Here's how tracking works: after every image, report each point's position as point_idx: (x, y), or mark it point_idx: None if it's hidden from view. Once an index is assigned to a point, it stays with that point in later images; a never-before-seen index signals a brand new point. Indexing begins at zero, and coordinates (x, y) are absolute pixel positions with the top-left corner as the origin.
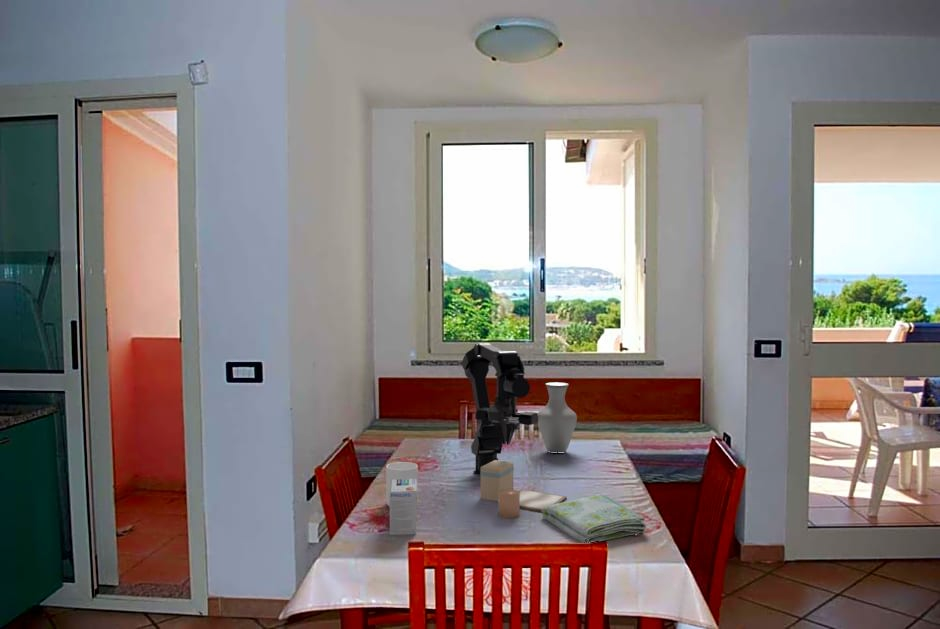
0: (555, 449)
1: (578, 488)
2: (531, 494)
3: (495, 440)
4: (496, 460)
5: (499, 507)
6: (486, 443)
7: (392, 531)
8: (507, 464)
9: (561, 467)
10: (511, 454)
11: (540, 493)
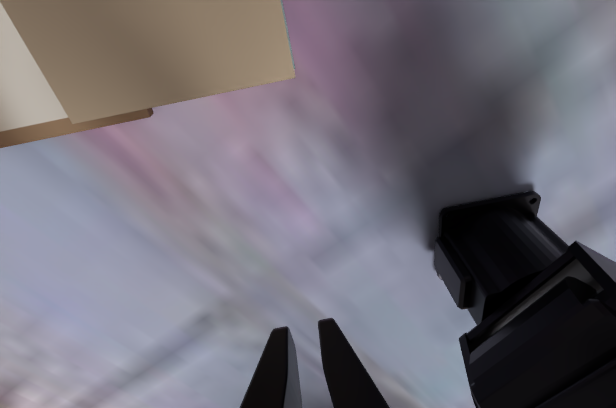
0: None
1: (34, 299)
2: (21, 69)
3: (518, 388)
4: (267, 70)
5: None
6: (568, 329)
7: None
8: (30, 2)
9: None
10: None
11: (11, 121)
